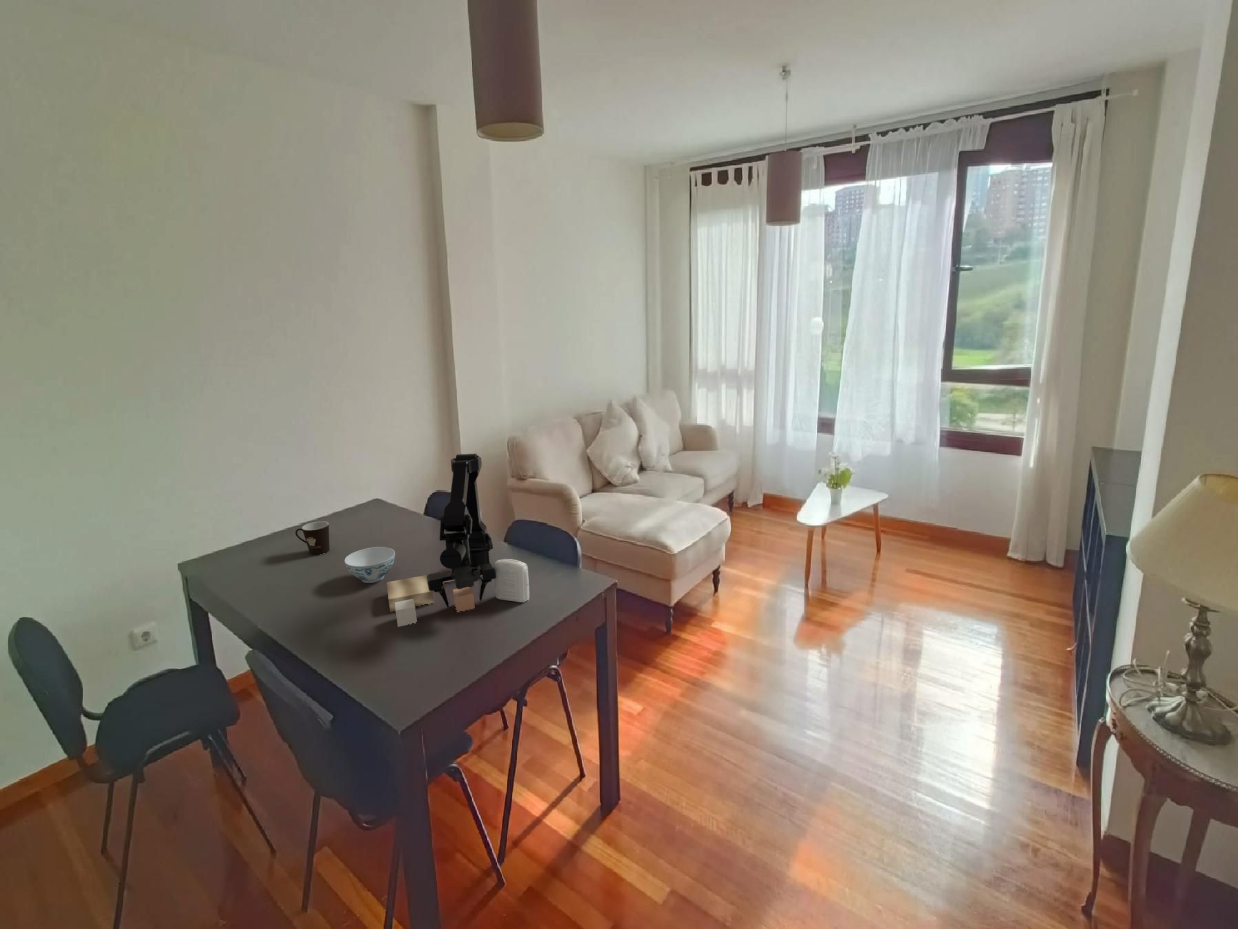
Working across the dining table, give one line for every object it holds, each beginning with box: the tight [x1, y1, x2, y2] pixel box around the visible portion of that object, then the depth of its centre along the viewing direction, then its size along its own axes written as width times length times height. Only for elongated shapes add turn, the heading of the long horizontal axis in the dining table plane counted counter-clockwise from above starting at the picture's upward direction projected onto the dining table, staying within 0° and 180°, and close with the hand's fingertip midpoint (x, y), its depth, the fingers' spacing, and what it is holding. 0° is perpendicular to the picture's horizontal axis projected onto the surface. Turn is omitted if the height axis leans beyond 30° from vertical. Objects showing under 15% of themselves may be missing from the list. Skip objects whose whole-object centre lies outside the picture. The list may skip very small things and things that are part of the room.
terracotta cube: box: [452, 587, 476, 613], centre depth 176 cm, size 5×5×5 cm
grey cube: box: [395, 599, 418, 628], centre depth 170 cm, size 5×5×5 cm
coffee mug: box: [294, 520, 330, 556], centre depth 219 cm, size 12×9×10 cm
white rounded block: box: [493, 558, 530, 603], centre depth 180 cm, size 10×4×12 cm, turn 73°
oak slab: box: [386, 574, 435, 613], centre depth 182 cm, size 12×12×4 cm
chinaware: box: [344, 546, 396, 584], centre depth 196 cm, size 15×15×8 cm
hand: (464, 603), depth 177 cm, fingers open, 9 cm apart
